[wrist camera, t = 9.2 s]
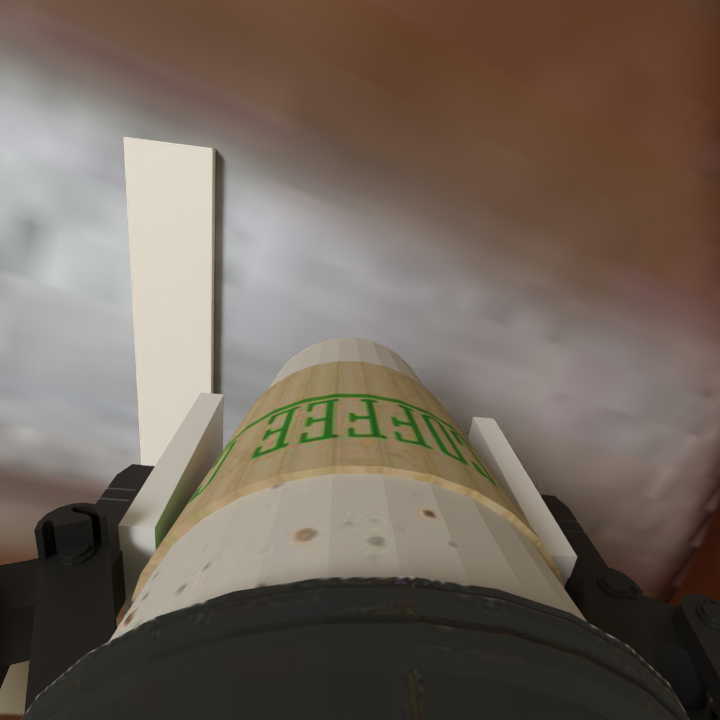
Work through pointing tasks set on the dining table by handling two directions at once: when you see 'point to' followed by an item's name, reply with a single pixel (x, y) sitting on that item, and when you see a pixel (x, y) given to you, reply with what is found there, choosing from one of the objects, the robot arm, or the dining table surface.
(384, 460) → the coffee cup
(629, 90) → the dining table surface
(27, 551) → the dining table surface
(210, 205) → the cream flat slat
